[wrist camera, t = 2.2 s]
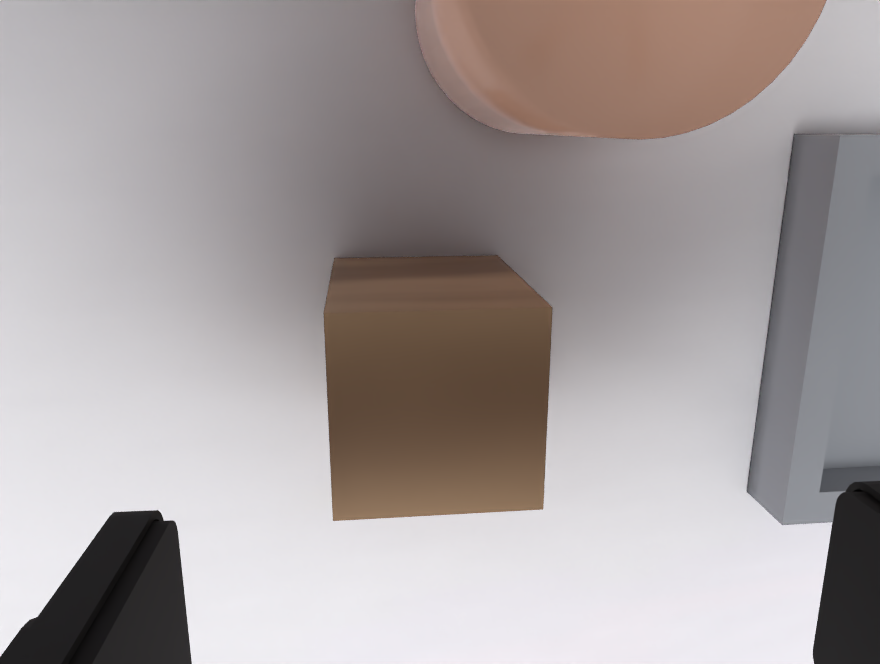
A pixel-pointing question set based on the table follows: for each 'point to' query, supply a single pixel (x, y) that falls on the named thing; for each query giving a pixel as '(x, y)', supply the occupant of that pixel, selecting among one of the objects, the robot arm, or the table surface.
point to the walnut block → (435, 387)
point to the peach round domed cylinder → (608, 60)
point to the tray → (822, 334)
